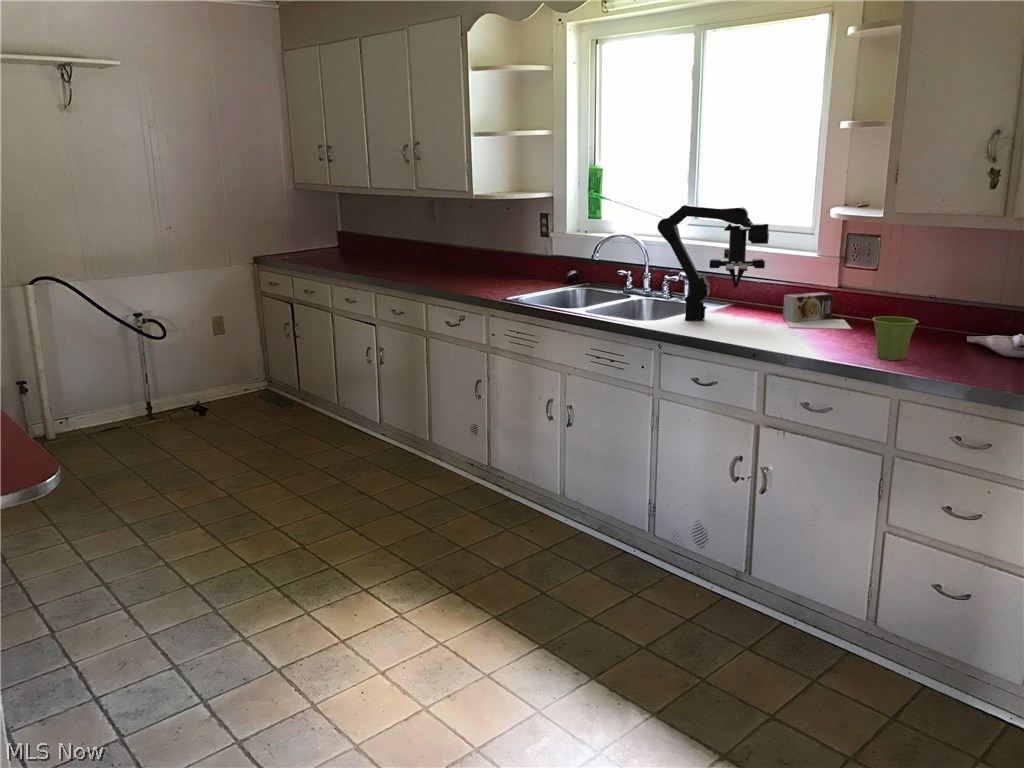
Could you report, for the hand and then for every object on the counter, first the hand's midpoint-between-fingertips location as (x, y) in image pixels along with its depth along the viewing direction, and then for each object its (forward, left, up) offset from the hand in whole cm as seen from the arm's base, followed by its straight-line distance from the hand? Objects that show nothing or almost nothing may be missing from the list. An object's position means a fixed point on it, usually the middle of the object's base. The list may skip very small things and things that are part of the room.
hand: (735, 287), depth 290 cm
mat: (+28, -3, -12) cm, 31 cm away
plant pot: (+42, -53, -12) cm, 69 cm away
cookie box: (+18, 0, -7) cm, 20 cm away
